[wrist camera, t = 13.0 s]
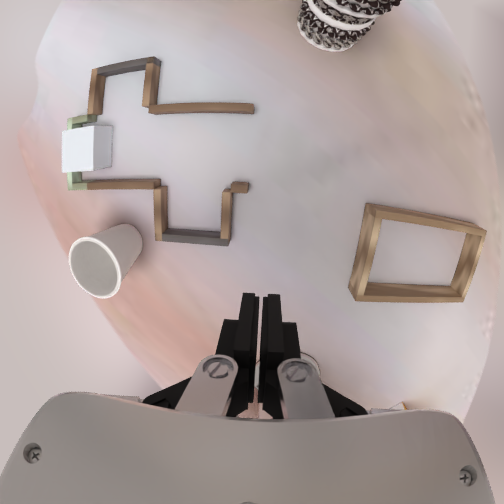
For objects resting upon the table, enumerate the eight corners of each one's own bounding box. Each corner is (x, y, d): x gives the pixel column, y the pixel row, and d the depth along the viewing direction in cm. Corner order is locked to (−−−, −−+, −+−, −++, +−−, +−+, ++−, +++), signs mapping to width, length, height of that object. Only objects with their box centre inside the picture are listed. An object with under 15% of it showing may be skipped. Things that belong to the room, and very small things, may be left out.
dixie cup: (96, 237, 38) (59, 262, 29) (125, 203, 36) (87, 223, 27) (129, 275, 40) (99, 309, 31) (161, 246, 38) (132, 277, 29)
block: (112, 166, 34) (93, 170, 29) (81, 168, 34) (62, 172, 29) (113, 126, 32) (94, 125, 27) (82, 130, 32) (62, 131, 27)
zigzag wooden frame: (244, 240, 37) (243, 247, 35) (81, 229, 38) (72, 234, 35) (257, 57, 28) (257, 51, 25) (81, 77, 28) (72, 75, 26)
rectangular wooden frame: (452, 291, 39) (462, 302, 35) (348, 287, 39) (355, 301, 35) (472, 223, 34) (486, 230, 30) (365, 203, 34) (376, 210, 30)
